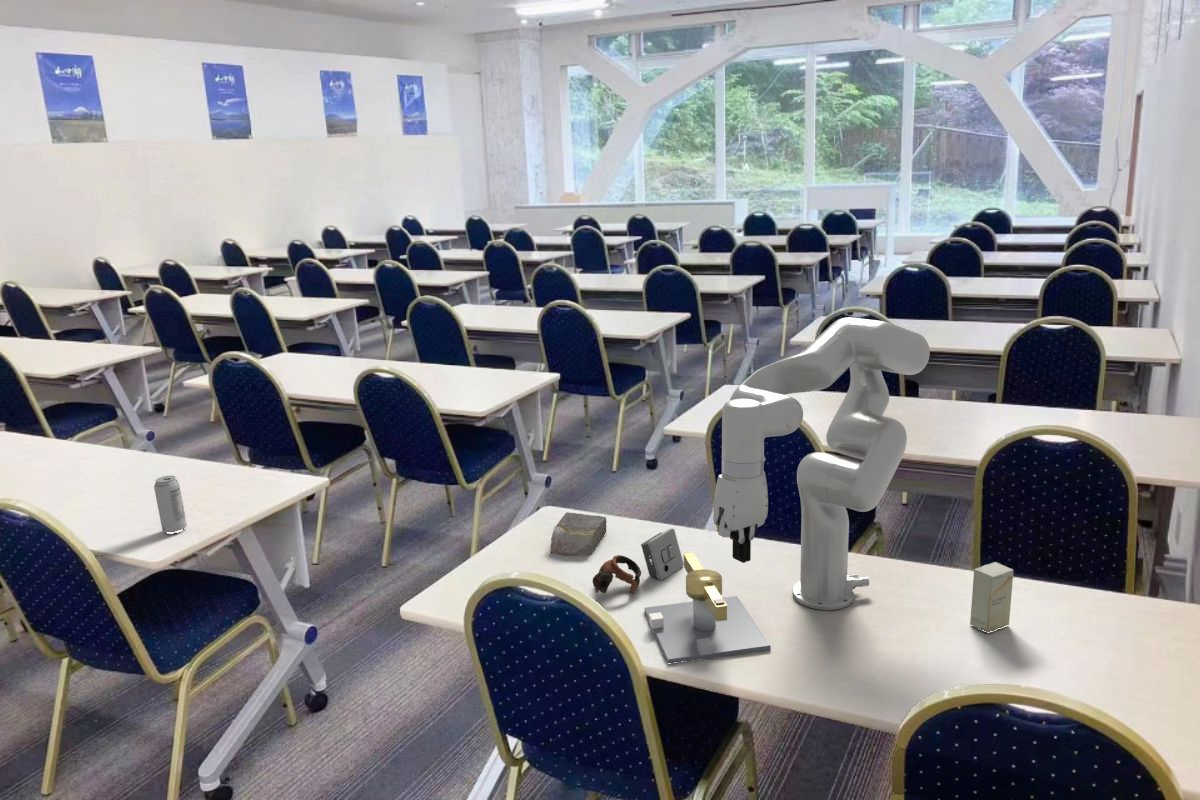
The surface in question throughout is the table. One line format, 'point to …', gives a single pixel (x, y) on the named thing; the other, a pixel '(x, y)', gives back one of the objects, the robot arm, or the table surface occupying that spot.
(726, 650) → the lock base
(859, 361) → the robot arm
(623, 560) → the brown headphones
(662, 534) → the electrical switch
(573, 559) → the table surface
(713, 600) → the handle
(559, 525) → the geological specimen
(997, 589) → the skincare box
